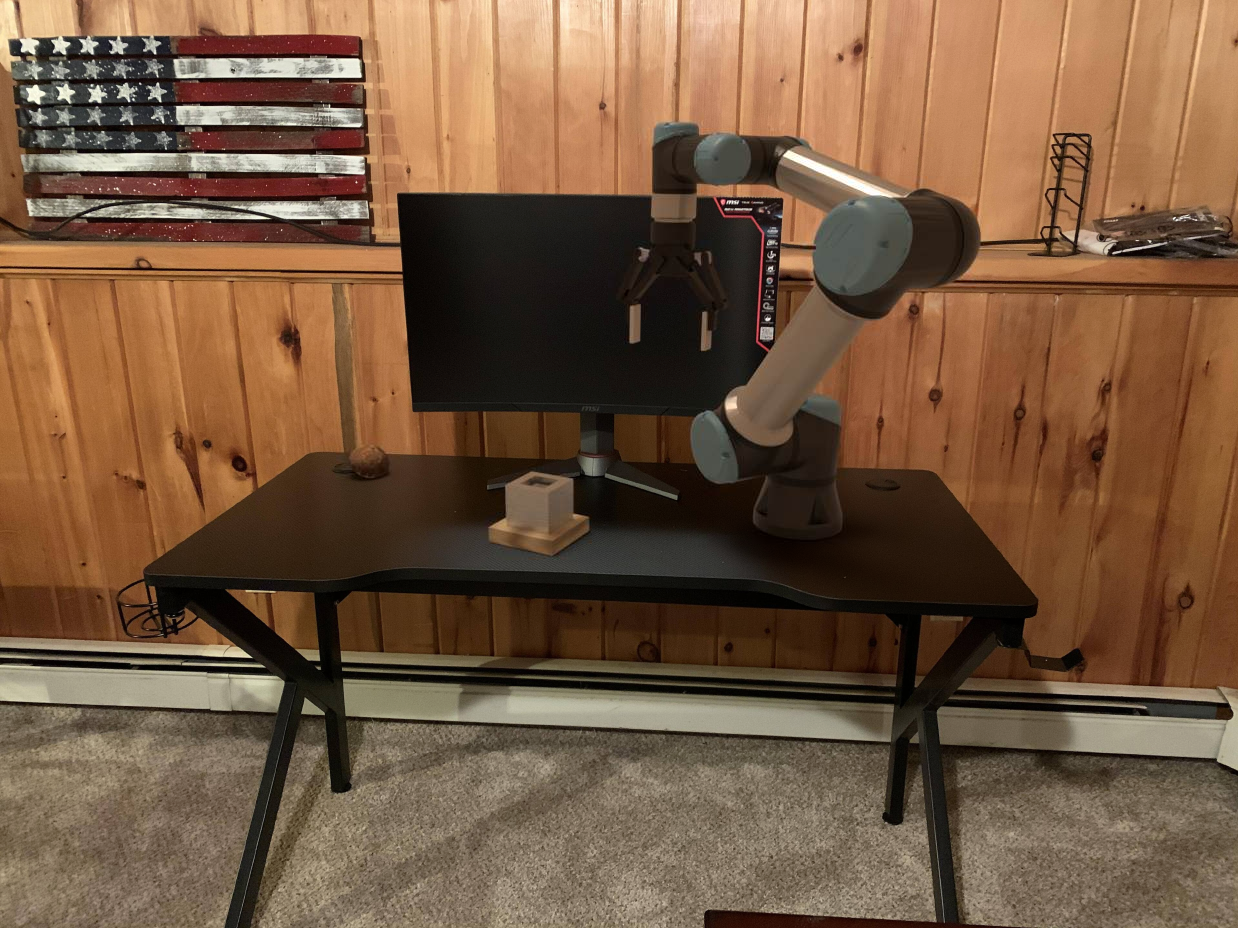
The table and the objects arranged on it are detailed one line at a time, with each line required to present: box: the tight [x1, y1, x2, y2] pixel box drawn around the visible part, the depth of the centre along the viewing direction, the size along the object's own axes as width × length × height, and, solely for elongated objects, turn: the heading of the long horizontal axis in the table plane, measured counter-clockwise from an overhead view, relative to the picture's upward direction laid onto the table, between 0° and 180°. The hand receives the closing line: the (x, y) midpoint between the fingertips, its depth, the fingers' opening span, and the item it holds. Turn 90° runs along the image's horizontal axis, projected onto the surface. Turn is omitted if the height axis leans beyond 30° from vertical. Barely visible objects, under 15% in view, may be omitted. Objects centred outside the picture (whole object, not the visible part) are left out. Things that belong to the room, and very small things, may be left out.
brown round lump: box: [348, 443, 390, 479], centre depth 181 cm, size 8×8×6 cm
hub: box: [504, 471, 574, 535], centre depth 151 cm, size 8×8×7 cm
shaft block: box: [488, 483, 590, 557], centre depth 151 cm, size 12×12×8 cm
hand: (669, 346), depth 161 cm, fingers open, 13 cm apart
